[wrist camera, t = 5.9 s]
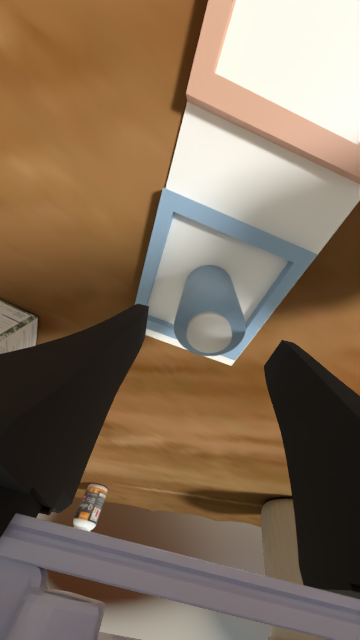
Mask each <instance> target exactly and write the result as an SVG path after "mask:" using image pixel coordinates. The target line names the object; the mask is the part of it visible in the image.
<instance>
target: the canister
mask: <svg viewBox="0 0 360 640" xmlns="http://www.w3.org/2000/svg"><path fill="white" fill-rule="evenodd" d="M261 529H262V542H263V554H264V565H265V576H268V577H272V578H276V579H280V580H284V581H288V582H292V583H296V584H300V585H303V581H302V577H301V573H300V569H299V562H298V547H297V536H296V525H295V514H294V506H293V499H275V500H270V501H268V502H266V503H265V504H264V505H263V507H262V511H261ZM270 626H271V636H270V637H269V638H268V640H328V639H324V638H320V637H316V636H312V635H308V634H304V633H300V632H296V631H292V630H288V629H284V628H280V627H276V626H272V625H270Z"/></svg>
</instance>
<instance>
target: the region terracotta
mask: <svg viewBox="0 0 360 640" xmlns="http://www.w3.org/2000/svg"><path fill="white" fill-rule="evenodd" d="M235 3H236V0H208V4H207V8H206V12H205V16H204V20H203V25H202V29H201V33H200V37H199V41H198V45H197V49H196V53H195V58H194V62H193V66H192V70H191V74H190V78H189V82H188V86H187V91H186V97H187V101H188V102H190V103H192V104H194V105H196V106H198V107H200V108H202V109H204V110H206V111H209V112H211V113H213V114H215V115H217V116H219V117H221V118H223V119H225V120H227V121H229V122H231V123H233V124H236V125H238V126H240V127H242V128H244V129H246V130H248V131H250V132H252V133H254V134H256V135H258V136H260V137H262V138H265V139H267V140H269V141H271V142H273V143H275V144H277V145H279V146H281V147H283V148H285V149H287V150H289V151H291V152H294V153H296V154H298V155H300V156H302V157H304V158H306V159H308V160H310V161H312V162H314V163H316V164H318V165H320V166H323V167H325V168H327V169H329V170H331V171H333V172H335V173H337V174H339V175H341V176H343V177H345V178H347V179H350V180H352V181H354V182H356V183H358V184H360V146H359V145H357V144H355V143H353V142H351V141H349V140H347V139H345V138H343V137H341V136H339V135H337V134H335V133H333V132H331V131H329V130H327V129H325V128H323V127H321V126H319V125H317V124H315V123H313V122H311V121H309V120H307V119H305V118H303V117H301V116H299V115H297V114H295V113H293V112H291V111H289V110H287V109H285V108H283V107H281V106H279V105H277V104H275V103H273V102H271V101H269V100H267V99H265V98H263V97H261V96H259V95H258V94H256V93H254V92H252V91H250V90H248V89H246V88H244V87H242V86H240V85H238V84H236V83H234V82H232V81H230V80H228V79H226V78H224V77H222V76H220V75H218V74H216V73H215V72H216V68H217V65H218V61H219V58H220V54H221V51H222V48H223V44H224V41H225V37H226V34H227V30H228V27H229V23H230V20H231V17H232V13H233V10H234V6H235Z"/></svg>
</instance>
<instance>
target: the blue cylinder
mask: <svg viewBox="0 0 360 640" xmlns="http://www.w3.org/2000/svg"><path fill="white" fill-rule="evenodd" d="M245 332H246V322H245V319H244V316H243V313H242V310H241V307H240V304H239V301H238V298H237V295H236V292H235V289H234V286H233V283H232V280H231V277H230V276H229V274H228V273H227V272H226V271H225V270H224V269H222V268H220V267H218V266H214V265H204V266H201V267H198V268H196V269H195V270H193V271H192V272H191V273H190V274H189V276H188V277H187V279H186V282H185V285H184V289H183V292H182V296H181V299H180V303H179V306H178V310H177V313H176V317H175V321H174V333H175V336H176V338H177V340H178V341H179V343H180V344H181V345H182V346H183V347H184V348H186V349H187V350H189V351H190V352H192V353H195V354H198V355H202V356H217V355H222V354H225V353H227V352H229V351H231V350H233V349H234V348H235V347H237V346H238V345H239V344H240V342H241V341H242V339H243V337H244V335H245Z"/></svg>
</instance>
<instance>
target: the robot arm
mask: <svg viewBox="0 0 360 640" xmlns="http://www.w3.org/2000/svg"><path fill="white" fill-rule="evenodd" d="M148 311H149V306H146V305H142V304H136V305H134V306H132V307H130V308H129V309H127V310H125V311H123V312H121V313H119V314H117V315H116V316H114V317H112V318H110V319H108V320H105V321H103V322H101V323H99V324H97V325H95V326H92V327H90V328H88V329H85V330H83V331H80V332H77V333H75V334H72V335H69V336H66V337H63V338H60V339H56V340H53V341H50V342H46V343H43V344H39V345H36V346H32V347H28V348H24V349H20V350H16V351H11V352H7V353H2V354H0V640H140V639H135V638H129V637H124V636H119V635H113V634H108V633H103V632H99V630H100V626H101V622H102V618H103V614H104V610H105V605H104V603H103V602H101V601H97V600H94V599H91V598H88V597H85V596H81V595H78V594H75V593H71V592H66V591H61V590H52V589H48V588H47V573H46V570H45V569H49V570H53V571H57V572H61V573H65V574H69V575H73V576H77V577H81V578H85V579H89V580H93V581H97V582H101V583H105V584H109V585H113V586H117V587H121V588H125V589H129V590H133V591H137V592H140V593H144V594H148V595H153V596H157V597H160V598H164V599H168V600H173V601H177V602H181V603H185V604H189V605H193V606H197V607H200V608H204V609H208V610H212V611H216V612H221V613H225V614H229V615H232V616H236V617H240V618H245V619H248V620H253V621H256V622H260V623H265V624H269V625H272V626H276V627H280V628H284V629H288V630H292V631H296V632H300V633H304V634H308V635H312V636H316V637H320V638H324V639H328V640H360V396H359V395H358V394H356V393H355V392H354V391H353V390H351V389H350V388H349V387H348V386H346V385H345V384H344V383H343V382H341V381H340V380H339V379H338V378H336V377H335V376H334V375H333V374H332V373H330V372H329V371H328V370H327V369H326V368H324V367H323V366H322V365H321V364H320V363H319V362H317V361H316V360H315V359H314V358H313V357H311V356H310V355H309V354H308V353H306V352H305V351H304V350H303V349H301V348H300V347H299V346H297V345H296V344H294V343H292V342H288V341H284V340H282V341H281V342H280V344H279V345H278V347H277V348H276V350H275V351H274V352H273V354H272V355H271V357H270V358H269V360H268V361H267V362H266V364H265V365H264V371H265V378H266V384H267V388H268V391H269V394H270V398H271V401H272V404H273V408H274V411H275V414H276V417H277V421H278V424H279V427H280V431H281V435H282V439H283V444H284V449H285V454H286V459H287V465H288V471H289V477H290V483H291V491H292V499H293V506H294V514H295V525H296V536H297V547H298V562H299V569H300V573H301V577H302V581H303V585H300V584H296V583H292V582H288V581H284V580H280V579H276V578H272V577H268V576H264V575H260V574H256V573H252V572H248V571H244V570H240V569H236V568H233V567H228V566H225V565H221V564H216V563H212V562H209V561H205V560H200V559H197V558H193V557H189V556H184V555H180V554H176V553H173V552H169V551H165V550H161V549H157V548H153V547H148V546H145V545H141V544H137V543H133V542H129V541H125V540H121V539H117V538H113V537H109V536H105V535H101V534H96V533H93V532H89V531H85V530H81V529H77V528H73V527H69V526H65V525H61V524H57V523H53V522H49V521H45V520H41V519H37V518H36V517H37V515H38V513H42V514H46V515H50V514H51V512H56V513H60V512H62V511H63V510H64V509H66V508H67V507H68V506H70V505H71V504H72V502H73V499H74V496H75V494H76V491H77V488H78V486H79V483H80V481H81V478H82V475H83V473H84V470H85V468H86V465H87V462H88V460H89V458H90V455H91V453H92V450H93V448H94V445H95V443H96V440H97V438H98V435H99V433H100V430H101V428H102V426H103V423H104V421H105V418H106V416H107V414H108V411H109V409H110V407H111V404H112V402H113V400H114V398H115V395H116V393H117V391H118V389H119V387H120V385H121V383H122V382H123V380H124V378H125V376H126V374H127V373H128V371H129V369H130V367H131V365H132V364H133V362H134V360H135V358H136V356H137V355H138V353H139V351H140V348H141V346H142V343H143V341H144V338H145V334H146V326H147V319H148ZM44 568H45V569H44Z"/></svg>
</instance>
